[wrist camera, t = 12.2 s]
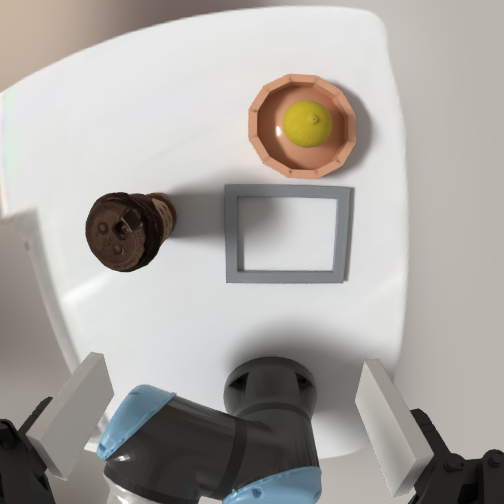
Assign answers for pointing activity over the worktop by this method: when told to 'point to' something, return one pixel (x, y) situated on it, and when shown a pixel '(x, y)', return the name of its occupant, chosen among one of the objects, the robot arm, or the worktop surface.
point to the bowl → (279, 146)
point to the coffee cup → (129, 229)
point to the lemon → (307, 124)
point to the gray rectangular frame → (285, 191)
